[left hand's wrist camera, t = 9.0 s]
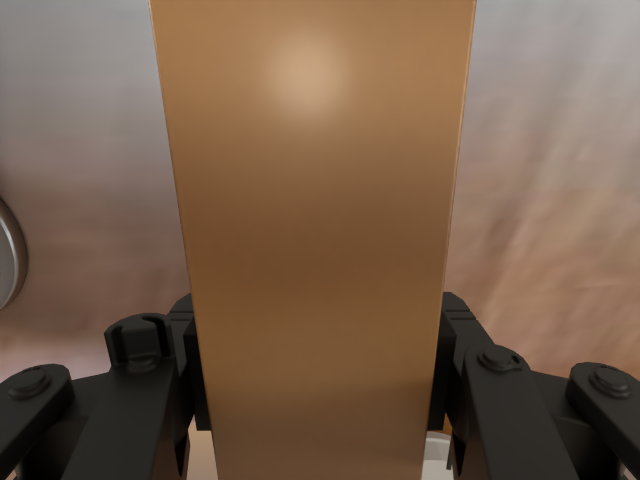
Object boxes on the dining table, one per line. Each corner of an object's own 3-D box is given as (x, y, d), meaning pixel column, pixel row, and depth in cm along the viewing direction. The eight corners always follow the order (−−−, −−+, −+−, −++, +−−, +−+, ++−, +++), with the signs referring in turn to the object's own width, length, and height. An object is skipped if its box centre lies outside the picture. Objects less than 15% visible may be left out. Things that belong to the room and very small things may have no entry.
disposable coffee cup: (405, 432, 39) (441, 565, 28) (327, 397, 38) (330, 523, 26) (460, 367, 36) (524, 486, 25) (377, 326, 35) (406, 434, 23)
